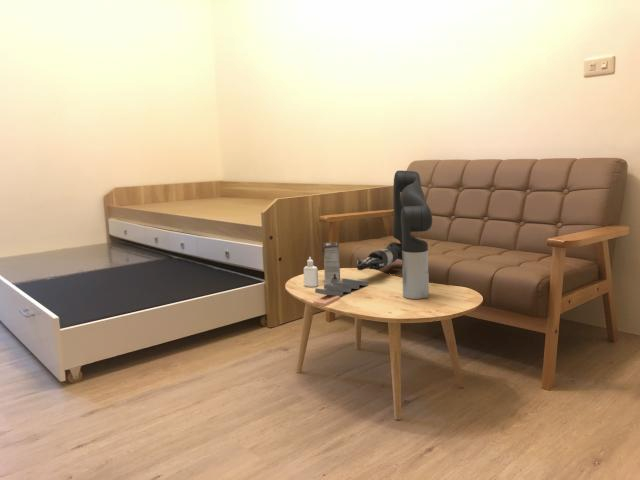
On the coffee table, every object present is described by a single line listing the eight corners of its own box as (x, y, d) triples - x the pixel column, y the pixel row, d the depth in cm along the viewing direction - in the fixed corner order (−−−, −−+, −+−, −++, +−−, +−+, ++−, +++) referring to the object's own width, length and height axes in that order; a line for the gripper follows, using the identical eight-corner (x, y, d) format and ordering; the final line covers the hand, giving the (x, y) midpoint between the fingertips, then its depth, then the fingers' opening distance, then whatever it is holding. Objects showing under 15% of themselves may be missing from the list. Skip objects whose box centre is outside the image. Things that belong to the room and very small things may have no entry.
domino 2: (328, 294, 199) (313, 301, 191) (339, 296, 197) (324, 303, 188) (328, 298, 200) (313, 305, 192) (340, 300, 197) (325, 307, 189)
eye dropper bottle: (312, 288, 212) (310, 259, 210) (302, 285, 216) (301, 257, 214) (320, 285, 215) (318, 257, 213) (310, 283, 219) (309, 255, 217)
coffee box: (324, 279, 225) (323, 242, 222) (340, 278, 225) (338, 241, 222) (324, 285, 216) (323, 246, 213) (340, 284, 216) (339, 245, 213)
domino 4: (349, 283, 211) (333, 281, 204) (359, 285, 208) (343, 283, 201) (349, 287, 211) (332, 285, 204) (358, 289, 208) (342, 287, 201)
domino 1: (333, 289, 203) (315, 288, 196) (343, 291, 200) (325, 290, 192) (332, 294, 203) (314, 292, 196) (342, 296, 200) (324, 294, 192)
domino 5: (358, 280, 215) (342, 278, 208) (367, 281, 212) (352, 280, 205) (357, 284, 215) (342, 282, 208) (367, 285, 212) (352, 284, 205)
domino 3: (341, 286, 207) (324, 284, 200) (351, 288, 204) (334, 286, 196) (340, 290, 207) (323, 288, 200) (350, 292, 203) (333, 290, 196)
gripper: (366, 248, 228) (344, 256, 214) (394, 251, 220) (373, 260, 206) (367, 265, 229) (345, 275, 215) (394, 269, 221) (373, 278, 208)
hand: (359, 267), depth 211 cm, fingers closed
